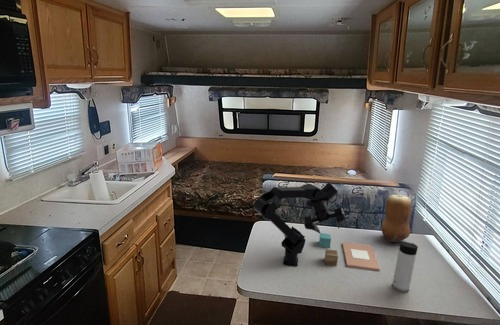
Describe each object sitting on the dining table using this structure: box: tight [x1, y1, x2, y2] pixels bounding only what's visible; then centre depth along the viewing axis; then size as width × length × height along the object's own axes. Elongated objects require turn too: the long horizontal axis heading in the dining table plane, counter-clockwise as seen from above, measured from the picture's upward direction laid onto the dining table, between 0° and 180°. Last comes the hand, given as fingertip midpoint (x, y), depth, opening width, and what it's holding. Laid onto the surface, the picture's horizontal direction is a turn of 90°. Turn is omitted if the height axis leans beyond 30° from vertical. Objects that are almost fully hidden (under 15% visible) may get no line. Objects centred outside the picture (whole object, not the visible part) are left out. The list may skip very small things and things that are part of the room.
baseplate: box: [341, 241, 381, 271], centre depth 150 cm, size 20×14×1 cm
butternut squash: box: [381, 194, 412, 243], centre depth 162 cm, size 14×13×25 cm
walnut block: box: [324, 248, 339, 267], centre depth 144 cm, size 5×5×5 cm
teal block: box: [318, 232, 332, 249], centre depth 158 cm, size 5×5×5 cm
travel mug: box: [391, 241, 419, 293], centre depth 126 cm, size 6×7×20 cm
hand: (329, 230), depth 151 cm, fingers open, 9 cm apart
